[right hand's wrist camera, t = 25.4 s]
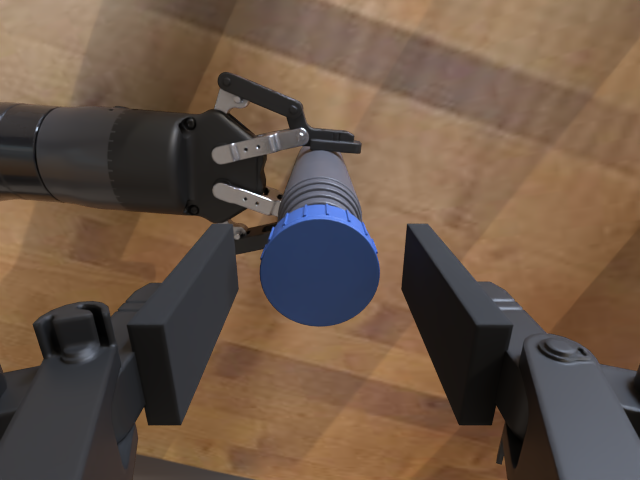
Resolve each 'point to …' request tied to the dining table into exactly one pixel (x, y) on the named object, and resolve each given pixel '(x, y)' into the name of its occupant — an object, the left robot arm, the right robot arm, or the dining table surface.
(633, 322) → the dining table surface
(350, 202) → the bottle
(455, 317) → the right robot arm
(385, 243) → the dining table surface
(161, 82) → the dining table surface
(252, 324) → the dining table surface
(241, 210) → the left robot arm
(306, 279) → the cap
